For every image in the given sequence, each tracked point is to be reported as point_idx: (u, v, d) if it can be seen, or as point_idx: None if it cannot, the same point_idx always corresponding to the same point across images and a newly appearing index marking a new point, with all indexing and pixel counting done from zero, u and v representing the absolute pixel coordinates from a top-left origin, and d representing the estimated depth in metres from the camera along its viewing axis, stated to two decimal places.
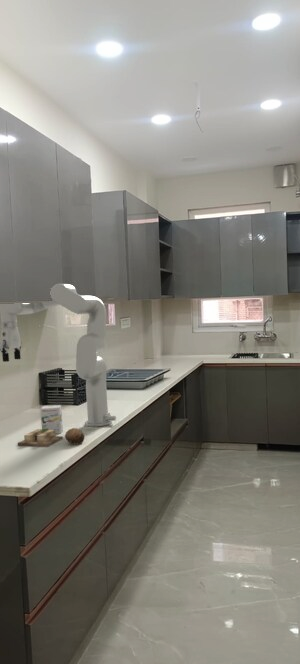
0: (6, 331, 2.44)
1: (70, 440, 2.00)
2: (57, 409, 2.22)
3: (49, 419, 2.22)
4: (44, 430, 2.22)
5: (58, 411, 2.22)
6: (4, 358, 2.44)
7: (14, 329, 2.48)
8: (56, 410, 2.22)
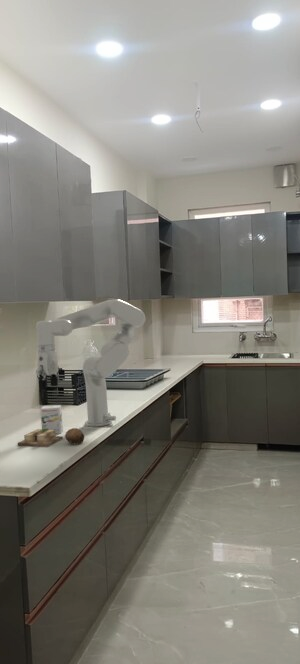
0: (43, 355, 2.18)
1: (70, 440, 2.00)
2: (57, 409, 2.22)
3: (49, 419, 2.22)
4: (44, 430, 2.22)
5: (58, 411, 2.22)
6: (41, 386, 2.18)
7: (52, 353, 2.22)
8: (56, 410, 2.22)
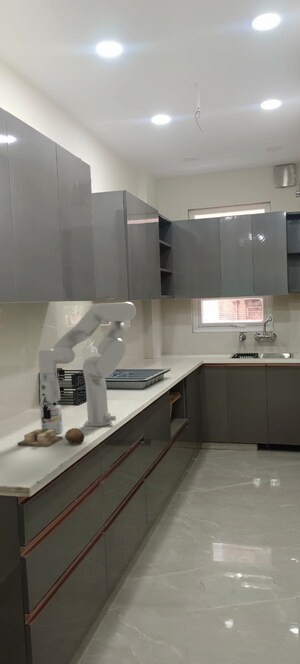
0: (46, 384, 2.19)
1: (70, 440, 2.00)
2: (57, 409, 2.22)
3: None
4: (44, 430, 2.22)
5: (58, 411, 2.22)
6: (45, 415, 2.20)
7: (54, 381, 2.23)
8: (56, 410, 2.22)
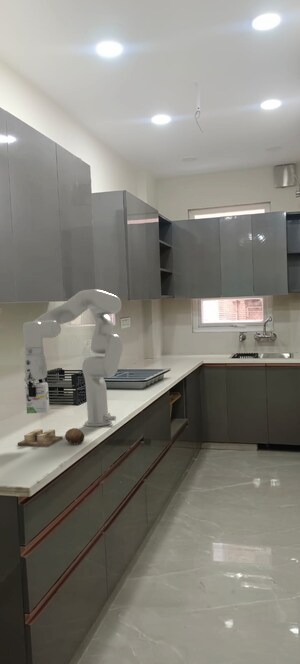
0: (31, 359, 2.03)
1: (70, 440, 2.00)
2: (43, 386, 2.06)
3: None
4: (29, 409, 2.07)
5: (44, 388, 2.06)
6: (31, 393, 2.05)
7: (40, 356, 2.07)
8: (42, 387, 2.06)
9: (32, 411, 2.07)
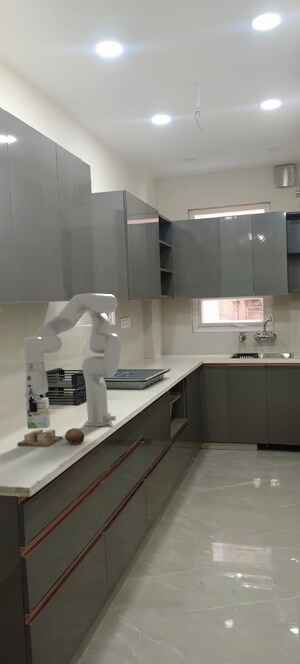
0: (32, 374, 2.03)
1: (70, 440, 2.00)
2: (44, 401, 2.06)
3: (36, 412, 2.06)
4: (30, 424, 2.07)
5: (45, 404, 2.06)
6: (31, 408, 2.05)
7: (41, 371, 2.07)
8: (43, 402, 2.06)
9: (33, 426, 2.07)
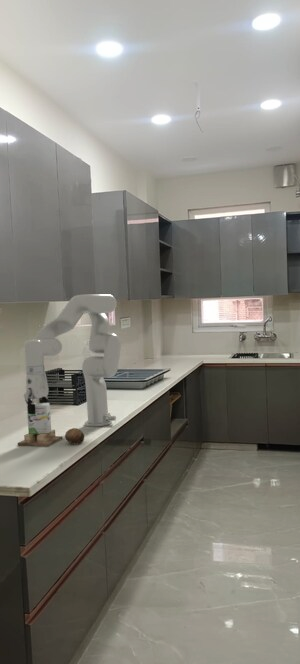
0: (32, 378, 2.03)
1: (70, 440, 2.00)
2: (44, 407, 2.06)
3: (36, 417, 2.07)
4: (31, 429, 2.07)
5: (45, 409, 2.06)
6: (30, 410, 2.03)
7: (41, 374, 2.07)
8: (43, 408, 2.06)
9: (34, 432, 2.07)
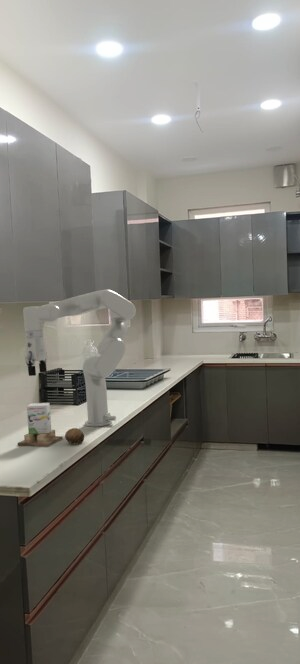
0: (32, 341, 2.16)
1: (70, 440, 2.00)
2: (44, 407, 2.06)
3: (36, 417, 2.07)
4: (31, 429, 2.07)
5: (45, 409, 2.06)
6: (30, 372, 2.16)
7: (40, 339, 2.20)
8: (43, 408, 2.06)
9: (34, 432, 2.07)
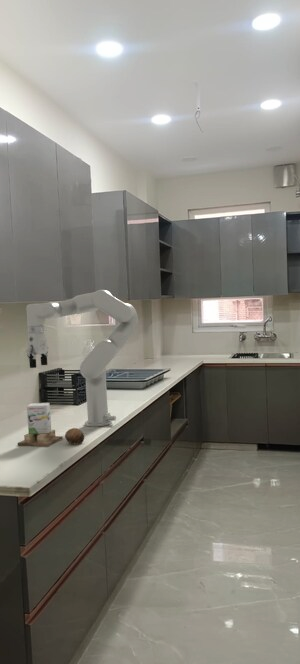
0: (33, 336, 2.33)
1: (70, 440, 2.00)
2: (44, 407, 2.06)
3: (36, 417, 2.07)
4: (31, 429, 2.07)
5: (45, 409, 2.06)
6: (31, 364, 2.33)
7: (41, 334, 2.37)
8: (43, 408, 2.06)
9: (34, 432, 2.07)
